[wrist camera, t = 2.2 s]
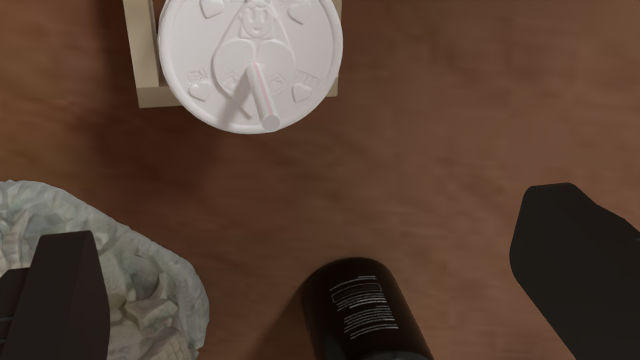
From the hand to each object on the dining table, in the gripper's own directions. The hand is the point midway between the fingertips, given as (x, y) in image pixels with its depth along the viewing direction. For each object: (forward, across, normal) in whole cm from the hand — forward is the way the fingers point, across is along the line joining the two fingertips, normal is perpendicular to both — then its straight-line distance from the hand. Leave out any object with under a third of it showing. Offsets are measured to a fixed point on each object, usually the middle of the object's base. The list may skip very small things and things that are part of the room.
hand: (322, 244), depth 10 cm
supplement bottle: (+20, -7, +21) cm, 30 cm away
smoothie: (+20, 0, 0) cm, 20 cm away
